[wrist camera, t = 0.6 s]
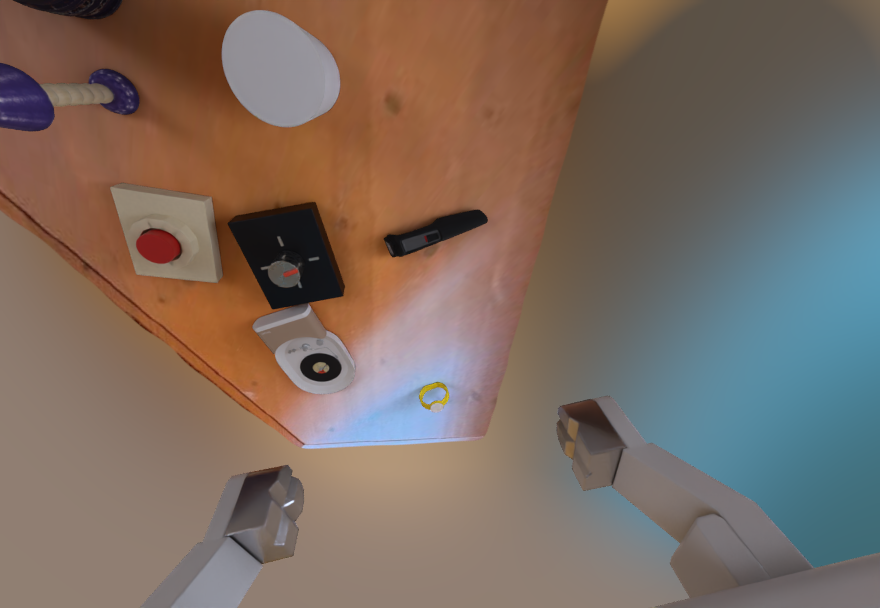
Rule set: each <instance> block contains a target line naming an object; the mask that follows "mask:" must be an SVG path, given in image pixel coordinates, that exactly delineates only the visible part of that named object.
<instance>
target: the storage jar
mask: <svg viewBox="0 0 880 608" xmlns="http://www.w3.org/2000/svg"><path fill="white" fill-rule="evenodd" d="M13 1H16V2H18V3H20V4H22V5H25V6H28V7H30V8H34V9H37V10H41V11H47V12H50V13H54V14H59V15H65V16H75V17H79V18H85V19H101V18H105V17H107V16H109V15H111V14H113V13H114V12H115V11H116V10H117V9H118V8H119V6H120V5H121V3H122V0H13Z"/></svg>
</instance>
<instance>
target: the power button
mask: <svg viewBox="0 0 880 608" xmlns="http://www.w3.org/2000/svg"><path fill="white" fill-rule="evenodd" d="M136 248H137V250H138V252H139V253H140V254H141V255H142V256H143V257H144V258H145V259H147V260H149V261H151V262H153V263H157V264H165V263H168V262H170V261H171V260H173V259H174V258H175V257H176V256H178V255H179V253H180V250H181V247H180V243H179V242H178V240H177V239H176V238H175V237H174V236H173V235H172V234H170V233H168V232H166V231H164V230H159V229H154V230H150V231H148V232H146V233H145V234H143V235H142V236H140V237H139V238H138V239H137V241H136Z"/></svg>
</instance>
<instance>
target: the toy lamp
mask: <svg viewBox="0 0 880 608" xmlns="http://www.w3.org/2000/svg"><path fill="white" fill-rule="evenodd" d="M80 104H81V105H89V104H101V105H102V106H103V107H104V108H106V109H108V110H110V111H112V112H115V113H118V114H124V115H127V114H132V113H134V112H135V111H136V110H137V109H138V106H139V96H138V93H137V91H136V89H135V87H134V86H133V84H132V83H131V82H130V81H129V80H128V79H127V78H126V77H124V76H123V75H122V74H120V73H118V72H116V71H113V70H110V69H100V70H97V71H95V72H94V73H92V74H91V76H90V78H89V84H87V83H83V84H77V83H71V84H66V83H57V84H51V83H45V84H42V85H41V84H38V83H37V82H36V81H35V80H34V79H33V78H31V77H30V76H29V75H27V74H26V73H24V72H23V71H21V70H19V69H17V68H15V67H13V66H10V65H7V64H3V63H0V127H2V128H8V129H15V130H22V131H40V130H44V129H46V128H48V127H49V126H50V125H51V123H52V122H53V120H54V116H55V115H54V106H60V107H62V106H67V105H71V106H76V105H80Z"/></svg>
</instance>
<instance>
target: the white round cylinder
mask: <svg viewBox="0 0 880 608" xmlns="http://www.w3.org/2000/svg"><path fill="white" fill-rule="evenodd" d="M222 63H223V68H224V72H225V76H226V78H227V81H228V83H229V85H230V87H231V89H232V91H233V93H234V94H235V96H236V97H237V99H238V100H239V101H240V102H241V104H242V105H243V106H244V107H245V108H246V109H247V110H248V111H249V112H251V113H252V114H253V115H254V116H256V117H257V118H259V119H261V120H262V121H264V122H266V123H269V124H272V125H275V126H280V127H294V126H298V125H301V124H303V123H306V122H308V121H310V120H312V119H314V118H316V117H318V116H320V115H322V114H324V113H326V112H327V111H329V110H330V109H331V108H332V107H333V105H334V104H335V102H336V100H337V98H338V95H339V90H340V76H339V71H338V67H337V64H336V62H335V60H334V58H333V56H332V54H331V53H330V51H329V50H328V49H327V48H326V46H325V45H324V44H323V43H322V42H320V41H319V40H318V39H317V38H315V37H314V36H312V35H311V34H309V33H308V32H306V31H305V30H304V29H302V28H301V27H299V26H298V25H296V24H295V23H293V22H292V21H291V20H289V19H287V18H286V17H284V16H282V15H279V14H277V13H274V12H270V11H264V10H257V11H251V12H247V13H245V14H243V15H241V16H239V17H238V18H236V19H235V20H234V21H233V22H232V24H231V25H230V26H229V28H228V30H227V31H226V34H225V36H224V40H223V45H222Z"/></svg>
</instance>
